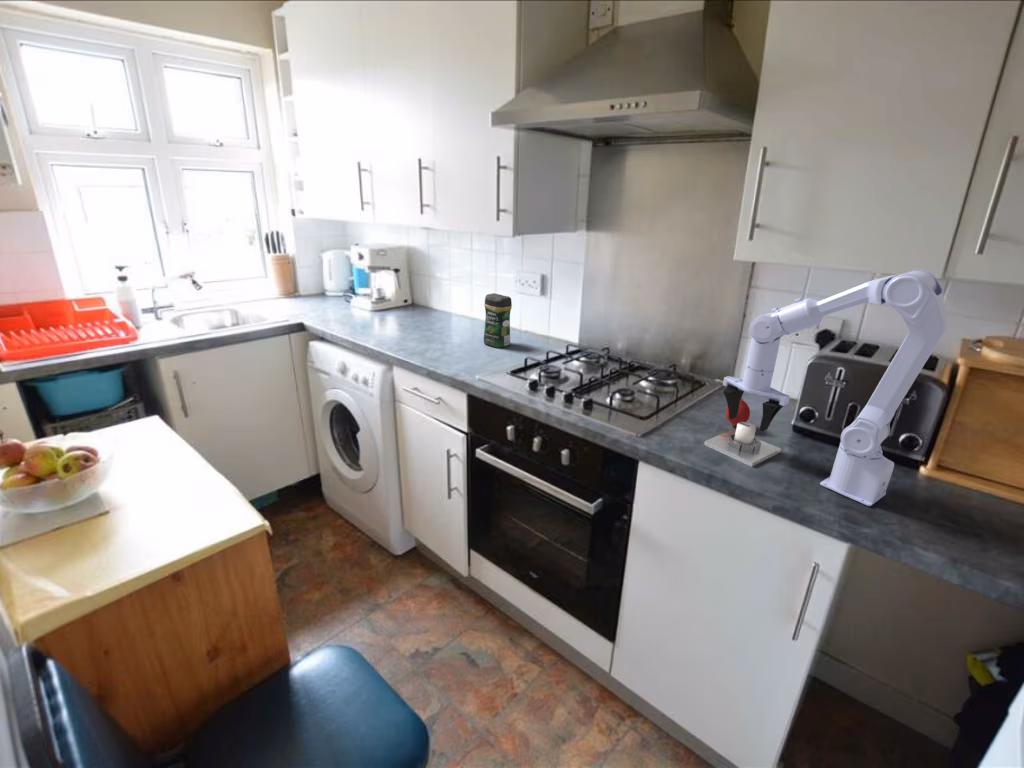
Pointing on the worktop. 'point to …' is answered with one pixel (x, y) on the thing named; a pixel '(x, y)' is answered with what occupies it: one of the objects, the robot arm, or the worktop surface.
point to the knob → (745, 433)
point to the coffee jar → (497, 320)
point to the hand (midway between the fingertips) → (747, 423)
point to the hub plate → (742, 455)
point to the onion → (739, 414)
